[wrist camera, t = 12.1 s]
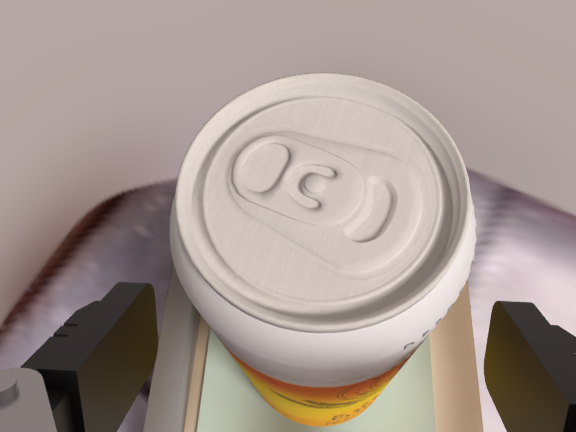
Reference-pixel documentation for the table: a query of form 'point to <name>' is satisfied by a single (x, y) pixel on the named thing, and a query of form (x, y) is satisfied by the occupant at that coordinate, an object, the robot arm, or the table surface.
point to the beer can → (322, 237)
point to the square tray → (276, 428)
